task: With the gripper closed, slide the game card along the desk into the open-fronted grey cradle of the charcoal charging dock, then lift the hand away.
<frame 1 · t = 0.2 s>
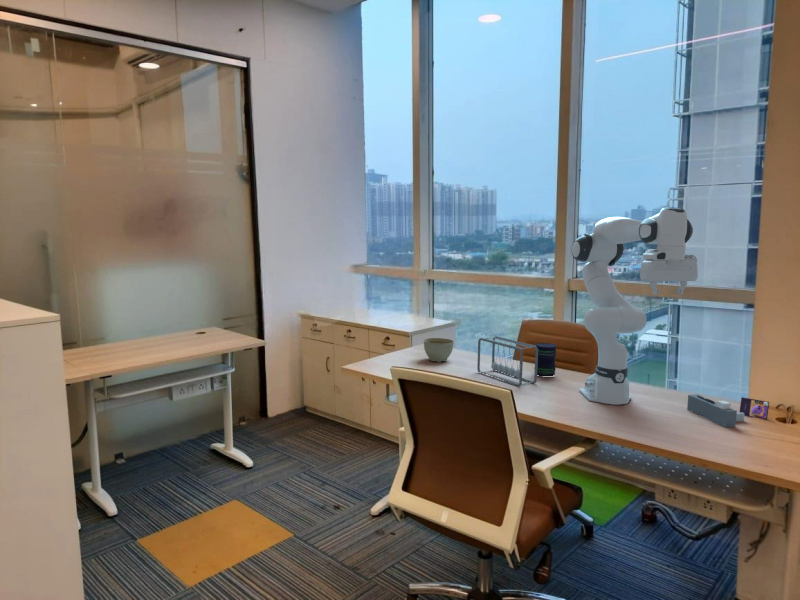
hand: (667, 294, 191), 48 cm above the table, tool pointing down, fingers open, 8 cm apart
charging dock: (729, 416, 208), on the table
planter bowl: (438, 361, 293), on the table
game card: (753, 416, 210), on the table
storage jar: (544, 375, 265), on the table
newton's cradle: (505, 378, 259), on the table
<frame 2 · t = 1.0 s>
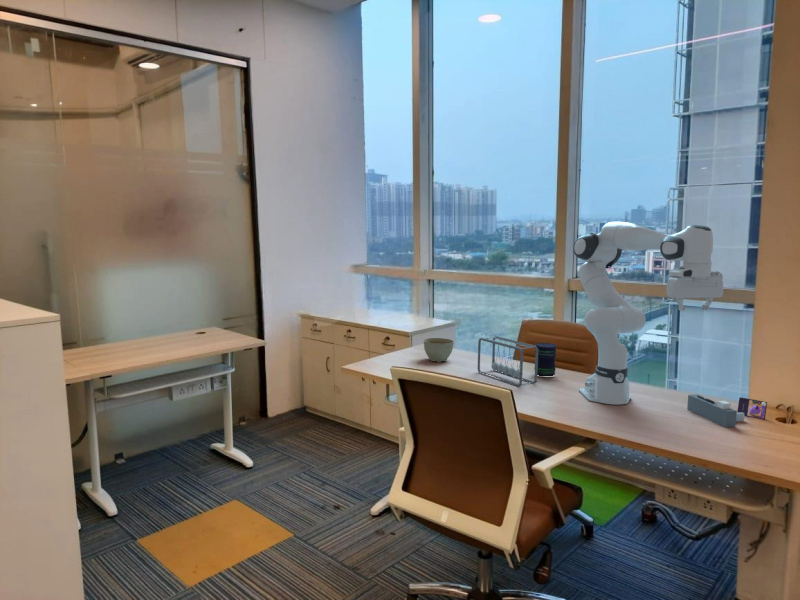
hand: (693, 310, 195), 42 cm above the table, tool pointing down, fingers open, 8 cm apart
nothing on the table moved.
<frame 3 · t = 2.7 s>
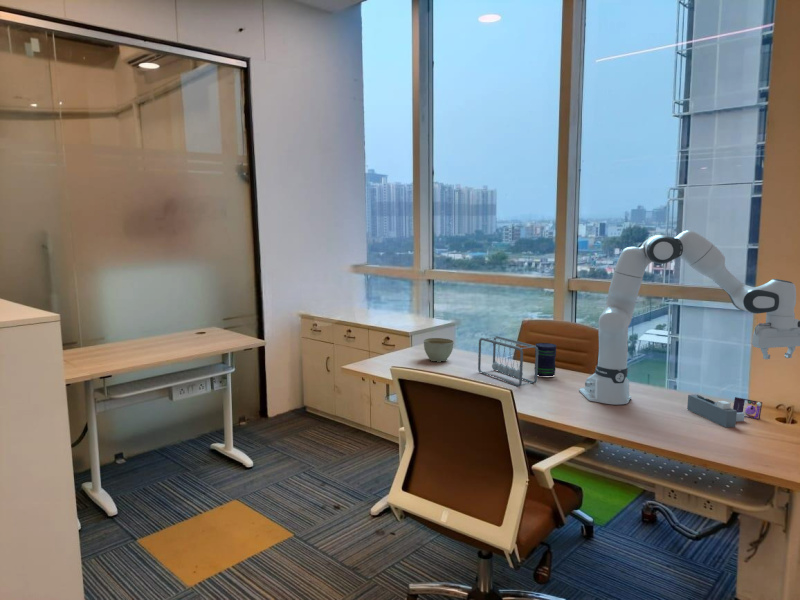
hand: (777, 358, 207), 22 cm above the table, tool pointing down, fingers open, 8 cm apart
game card: (746, 416, 209), on the table
everything else where it was.
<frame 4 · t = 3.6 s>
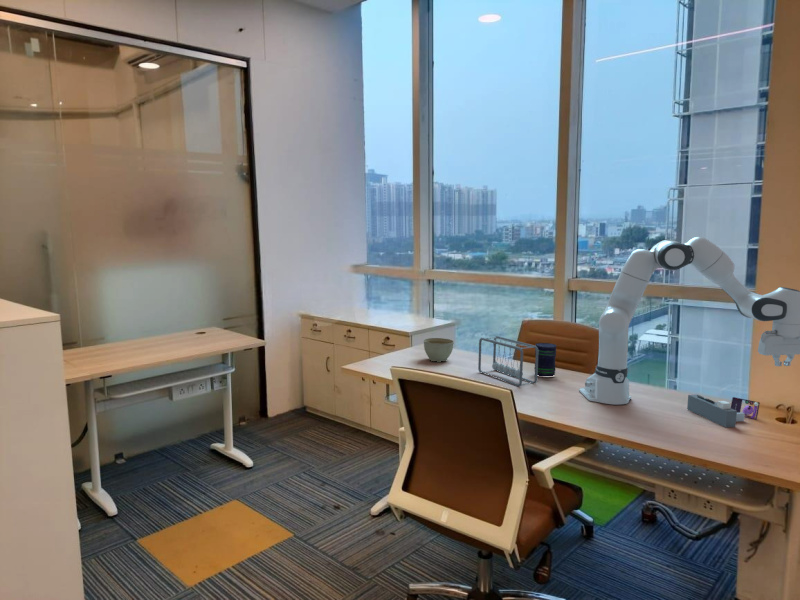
hand: (782, 365, 209), 19 cm above the table, tool pointing down, fingers open, 3 cm apart
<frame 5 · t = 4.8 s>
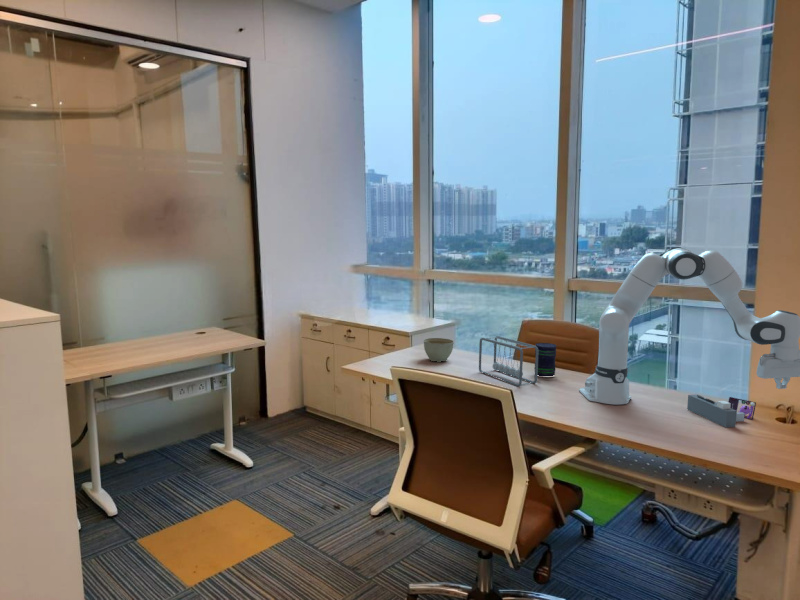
hand: (781, 388, 210), 10 cm above the table, tool pointing down, fingers closed
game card: (741, 416, 209), on the table
everything else where it was.
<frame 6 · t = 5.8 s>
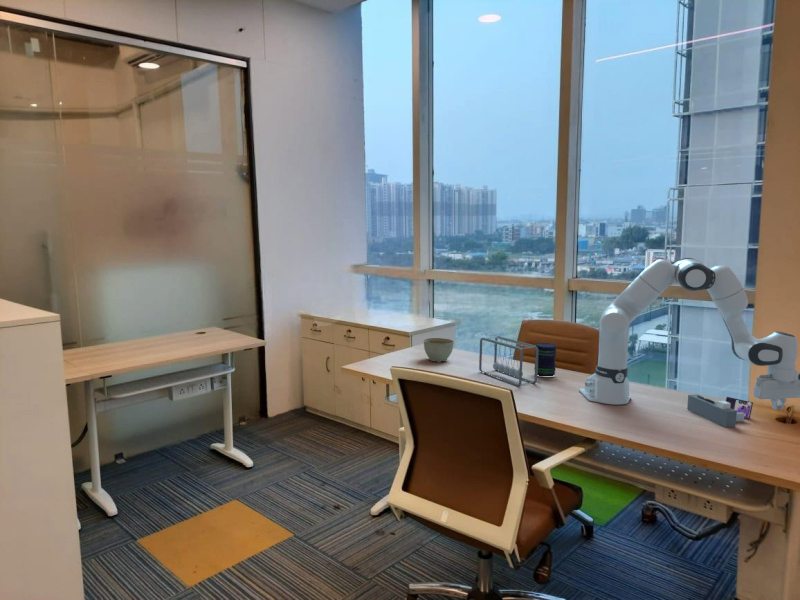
hand: (777, 409, 211), 2 cm above the table, tool pointing down, fingers closed
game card: (738, 416, 210), on the table
everything else where it was.
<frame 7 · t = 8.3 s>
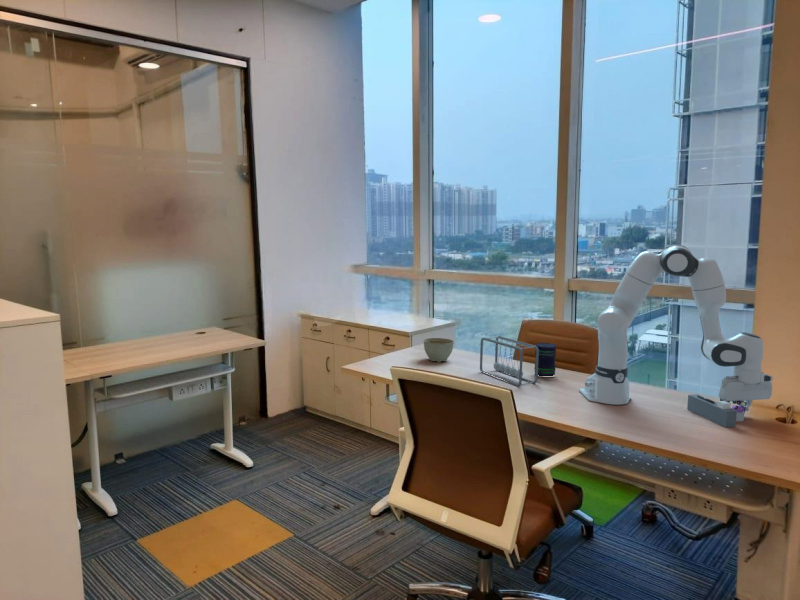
hand: (743, 410, 209), 2 cm above the table, tool pointing down, fingers closed
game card: (732, 416, 209), on the table
everything else where it was.
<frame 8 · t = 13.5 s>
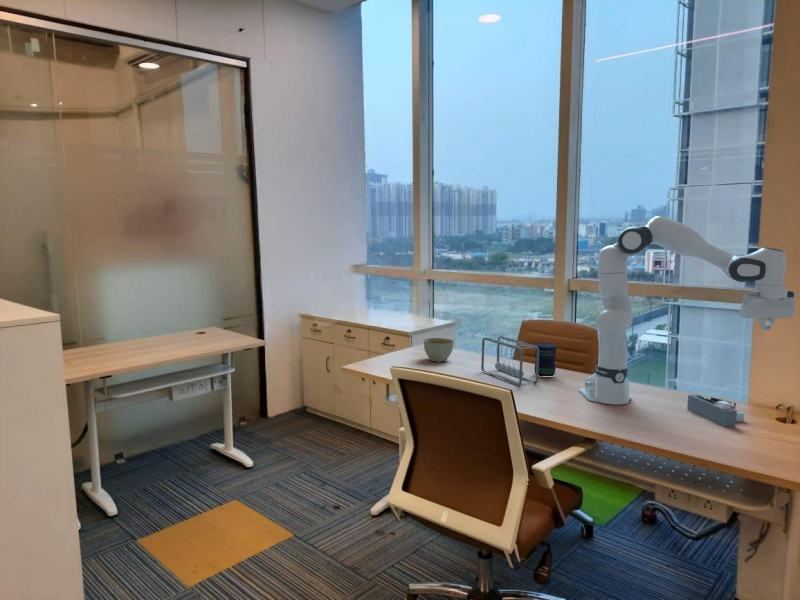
hand: (765, 329, 201), 34 cm above the table, tool pointing down, fingers closed
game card: (721, 417, 208), on the table
at the end: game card 1.3 cm from the target spot on the charging dock, point 0.0 cm above the charging dock's base; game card tilted 0°; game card moved 13.7 cm from its start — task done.
